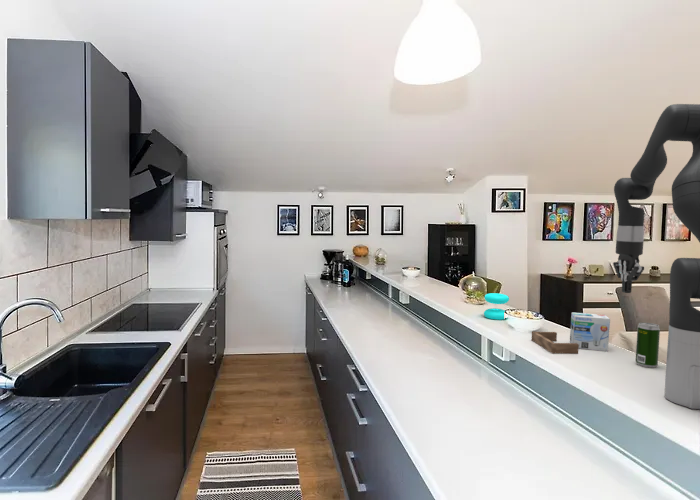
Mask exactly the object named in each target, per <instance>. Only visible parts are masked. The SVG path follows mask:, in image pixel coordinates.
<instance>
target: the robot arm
mask: <svg viewBox="0 0 700 500" xmlns="http://www.w3.org/2000/svg"><path fill="white" fill-rule="evenodd" d="M668 141H671V142H690V143H691V144H692V145H691V146H692V154H691V157H690V158H689V160H688V161H687V163H686V164H685V165H684V167H682V169H681V170H680V171H679V172H678V174H677V175H676V177H675V178H674V180H673V181H672V184H671V202H672V209H673V210H672V211H673V213H674V214H675V216H676V217H677V218H678V220H679V221H680V222H681V223H682V224H683V226H685V227H686V229H687V230H688V231H690V232H691V233H692V235H694V237H695V238H696V239H697V241H698V242H699V243H700V104H698V103H696V104H695V103H693V104H692V103H675V104H670V105H668V106H666V107H665V109H664V110H663V111H662V113H661V114H660V116H659V117H658V119H657V121H656V123H655V126H654V129H653V131H652V133H651V135H650V137H649V139H648V141H647V144H646V147H645V148H644V149H645V150H644V152H643V153H642V155H641V157H640V158H639V160H638V161H637V162H636V164H635V165H634V167H633V168H632V170H631V171H630V177H621V178H618V179H617V181H616V182H615V184H614V187H613V193H614V197H615V200H616V203H617V204H616V205H617V210H618V223H617V225H618V226H617V230H616V239H615V253H616V254H617V255H618V258H617V261H614V262H613V263H612V264H613V268H614V270H615V273H616V276H617V278H618V279H620V280H621V292H622V293H625V294H631V293H632V286H633V285H632V284H633V282H634V281H638V279H639V278H640V277H641V274H642V273H643V272H644V270H645V267H644V266H643V265H640V257H639V256H642V255H643V253H644V252H643V251H644V241H645V240H644V239H645V238H644V237H645V229H644V225H645V209H643V208H642V207H637V206H634V205H632V204H631V203H630V201H636V200H638V201H642V200H643V201H644V200H646V199H648V198H650V197H651V196H652V194H653V191H654V186H655V184H656V181H657V179H658V178H659V177H660V176H661V174H662V173H663V172H664V170H665V168H666V167H667V165H668V156H667V153H666V149H665V147H664V144H666V142H668ZM691 299H693V300H694V299H698V300H700V257H698V258H697V257H696V258H695V257H678V258H676V259H674V261H672V263H671V267H670V272H669V310H668V311H669V314H668V315H669V317H668V319H669V320H668V321H669V322H668V336H667V348H666V351H667V352H666V362H665V363H666V364H665V375H664V376H665V379H664V398H665V399H667V401H670V402H671V403H675V404H677V405H680V406H683V407H687V408H689V409H692V410H695V409H696V410H698V409H699V410H700V310H699V309H698V308H696V307H694V306H693V305H692V302H691V301H692V300H691Z"/></svg>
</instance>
